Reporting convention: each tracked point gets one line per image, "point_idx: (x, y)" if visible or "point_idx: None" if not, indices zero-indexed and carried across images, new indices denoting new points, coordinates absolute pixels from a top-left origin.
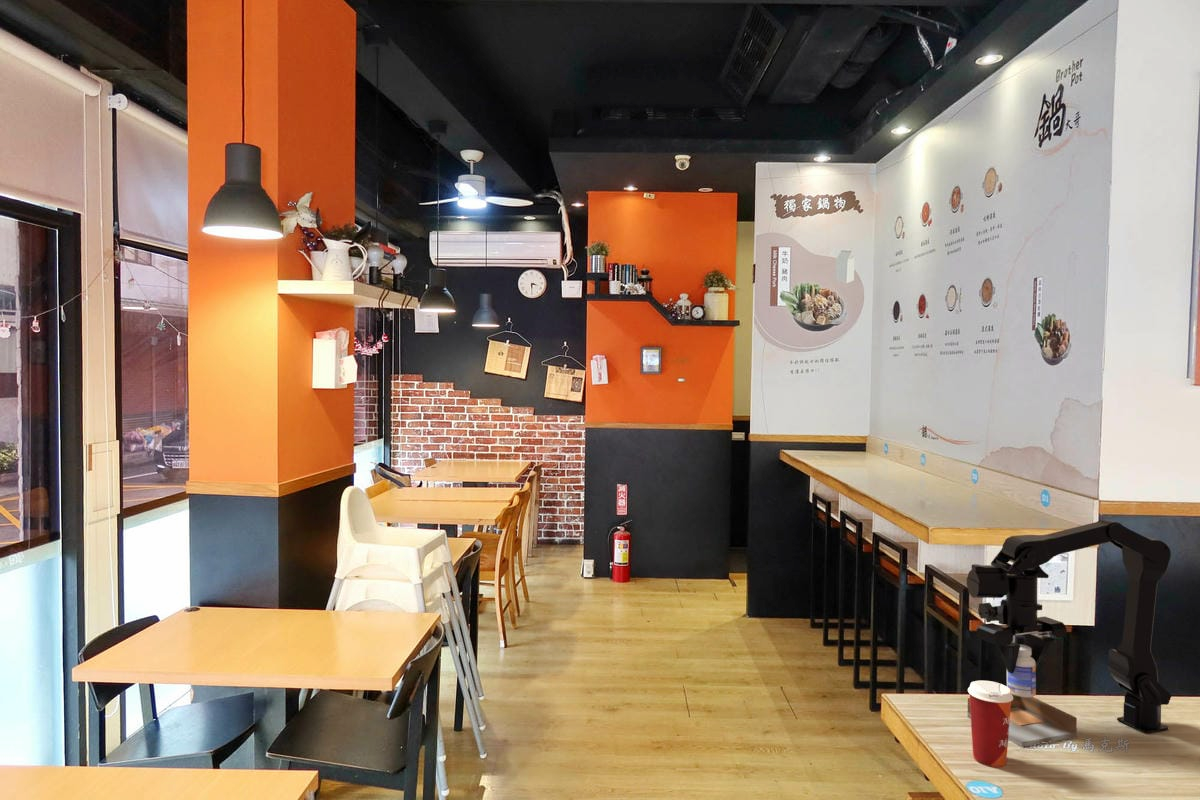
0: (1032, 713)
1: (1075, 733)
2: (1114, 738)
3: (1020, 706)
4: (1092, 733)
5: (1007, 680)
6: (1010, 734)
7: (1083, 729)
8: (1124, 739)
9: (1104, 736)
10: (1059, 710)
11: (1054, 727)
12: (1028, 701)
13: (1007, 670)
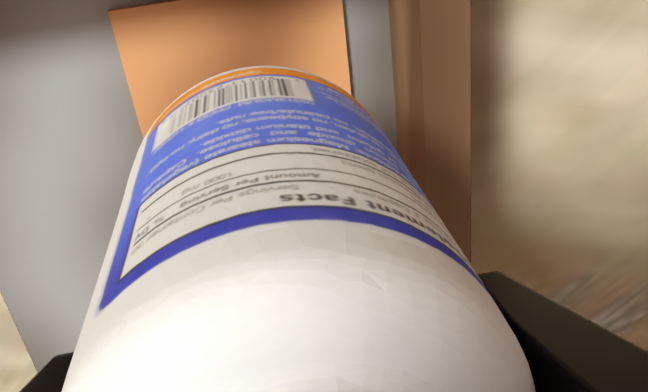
0: (390, 47)
1: None
2: (601, 301)
3: None
4: (552, 251)
5: (119, 210)
6: (20, 302)
7: (552, 208)
8: (634, 311)
9: (577, 281)
10: None
11: None
12: (411, 26)
13: (49, 363)
